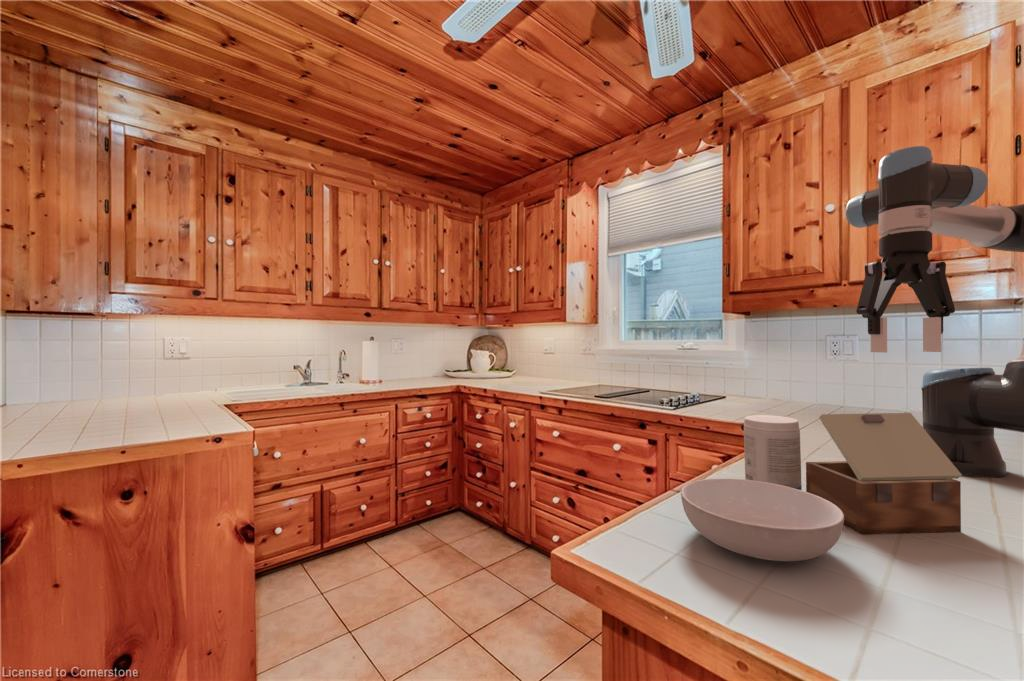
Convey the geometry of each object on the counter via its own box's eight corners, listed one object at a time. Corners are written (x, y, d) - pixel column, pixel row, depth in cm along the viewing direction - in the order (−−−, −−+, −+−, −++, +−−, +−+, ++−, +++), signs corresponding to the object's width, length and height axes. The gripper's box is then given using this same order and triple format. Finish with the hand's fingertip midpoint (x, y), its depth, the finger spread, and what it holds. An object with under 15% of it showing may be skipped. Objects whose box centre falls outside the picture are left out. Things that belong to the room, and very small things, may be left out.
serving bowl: (874, 557, 61) (873, 507, 61) (790, 603, 50) (790, 543, 50) (734, 507, 79) (733, 469, 79) (651, 533, 68) (651, 490, 68)
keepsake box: (890, 503, 80) (890, 460, 80) (962, 532, 68) (962, 481, 68) (806, 505, 79) (806, 462, 79) (863, 535, 67) (862, 484, 67)
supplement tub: (807, 493, 86) (806, 418, 86) (794, 506, 79) (793, 425, 79) (753, 481, 93) (752, 412, 93) (737, 492, 86) (736, 418, 86)
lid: (906, 416, 77) (913, 410, 75) (957, 478, 68) (966, 472, 67) (818, 417, 76) (824, 411, 75) (859, 480, 68) (866, 475, 66)
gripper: (864, 228, 78) (865, 353, 78) (983, 228, 79) (984, 352, 79) (831, 238, 85) (832, 352, 85) (940, 238, 86) (941, 351, 86)
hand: (905, 352), depth 82 cm, fingers open, 10 cm apart
